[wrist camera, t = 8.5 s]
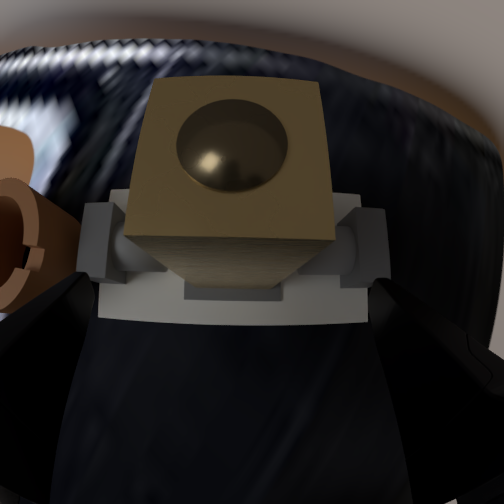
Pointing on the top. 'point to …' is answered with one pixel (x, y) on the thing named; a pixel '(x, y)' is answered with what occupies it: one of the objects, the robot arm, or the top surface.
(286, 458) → the top surface
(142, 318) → the plate with raised blocks
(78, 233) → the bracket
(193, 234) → the gold tall square block
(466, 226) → the top surface
